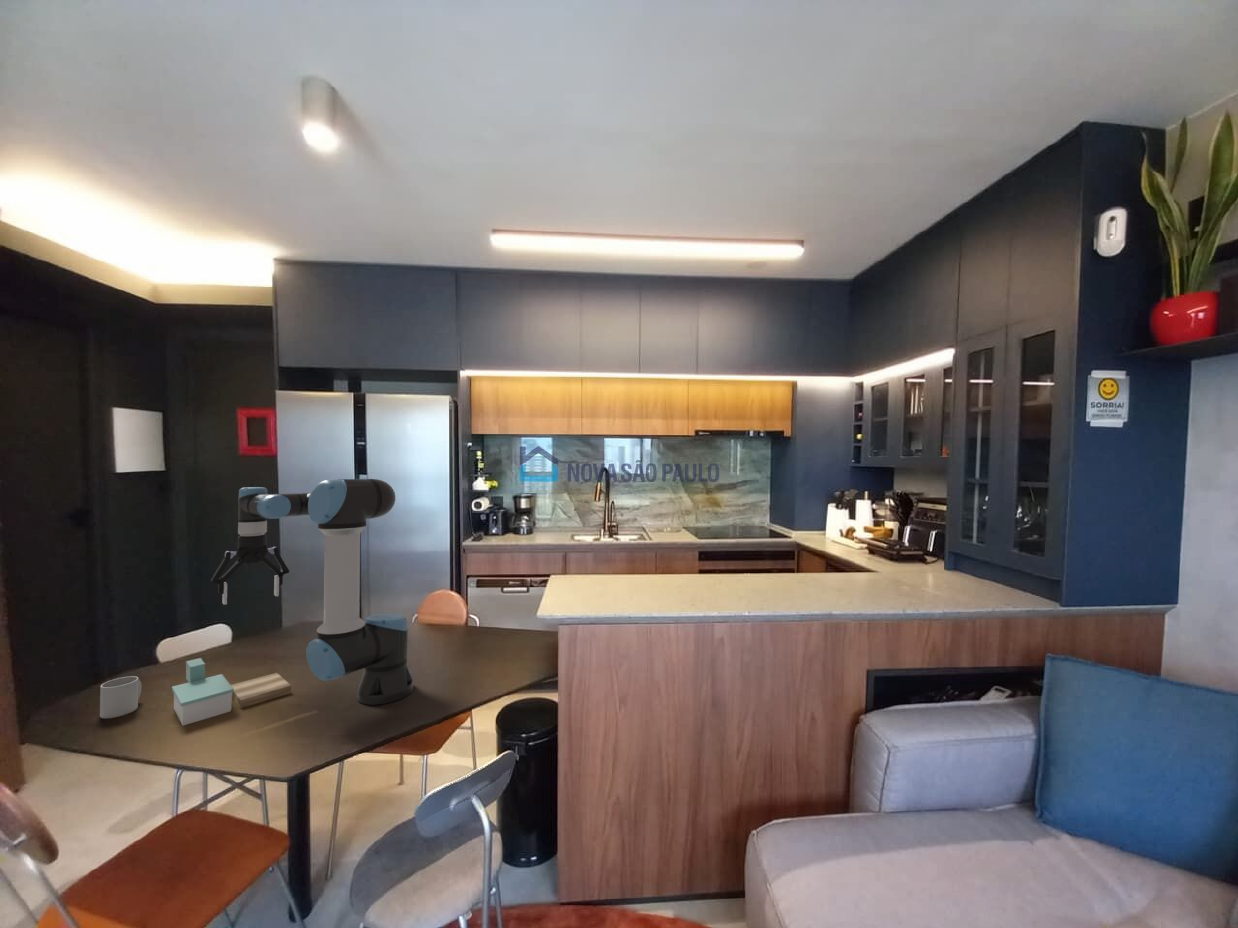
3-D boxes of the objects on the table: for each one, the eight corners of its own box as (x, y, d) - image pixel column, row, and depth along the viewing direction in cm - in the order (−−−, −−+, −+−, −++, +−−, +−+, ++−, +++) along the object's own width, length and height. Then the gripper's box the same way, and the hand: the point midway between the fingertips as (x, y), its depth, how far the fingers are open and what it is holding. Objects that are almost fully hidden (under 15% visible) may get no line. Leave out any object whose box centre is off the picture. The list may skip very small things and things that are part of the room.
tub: (231, 713, 131) (231, 691, 131) (182, 728, 123) (182, 705, 123) (219, 697, 140) (220, 677, 140) (173, 711, 132) (174, 689, 132)
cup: (91, 722, 127) (92, 688, 127) (125, 703, 136) (126, 672, 137) (121, 720, 127) (122, 686, 128) (153, 702, 137) (154, 671, 137)
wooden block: (290, 695, 142) (290, 685, 142) (240, 710, 133) (240, 699, 133) (276, 681, 151) (276, 672, 151) (228, 695, 142) (228, 685, 142)
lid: (233, 693, 131) (234, 673, 131) (181, 708, 123) (181, 686, 123) (216, 672, 145) (217, 654, 145) (168, 684, 137) (168, 665, 137)
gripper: (294, 530, 167) (293, 590, 167) (200, 537, 149) (199, 604, 149) (300, 532, 162) (299, 594, 162) (204, 539, 144) (202, 609, 144)
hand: (251, 599), depth 155 cm, fingers open, 13 cm apart
